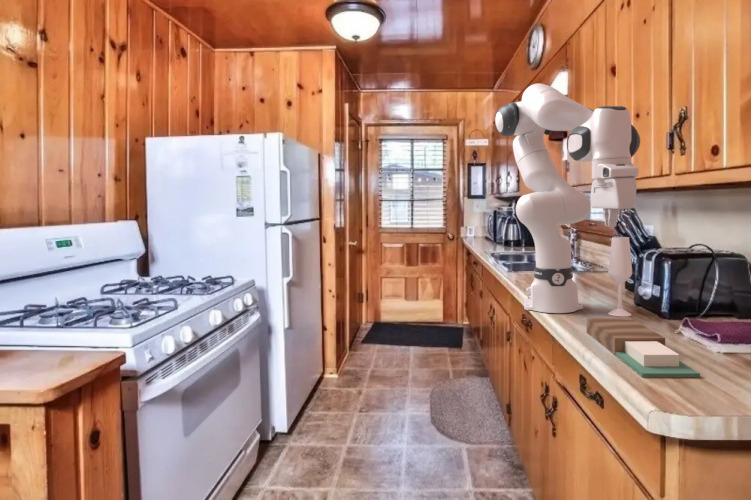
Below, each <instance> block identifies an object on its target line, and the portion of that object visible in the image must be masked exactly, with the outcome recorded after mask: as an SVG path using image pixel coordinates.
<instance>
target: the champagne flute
mask: <svg viewBox="0 0 751 500" xmlns="http://www.w3.org/2000/svg"><path fill="white" fill-rule="evenodd" d="M631 253H632V252H631V245H630V237H629V236H628V237H627V236H613V237H611V242H610V251H609V259H608V261H609V262H608V271H607V274H608V276H609V277H610V279H612V280H613V281H614V282H615V283H616V284H617V307H616V308H615V309H612V310H611V311H609V312H607V314H608V315H610V316H614V317H630V316H632V313H631V312H629V311H627V310H625V309H624V308H623V284H624V283H625V282H626V281H628V280H629V279H630V278H631V277H632V275H633V267H632V265H633V264H632V255H631Z"/></svg>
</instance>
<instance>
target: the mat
mask: <svg viewBox="0 0 751 500" xmlns="http://www.w3.org/2000/svg"><path fill="white" fill-rule="evenodd" d="M615 356H616V357H617V359H619V360H620V359H621V360H620V361H622V362H623V363H624V362H625V363H626V364H627V366H628V367H629V368H630V367H631V368H632V370H633V371H634V372H635V371H636V372H637V373H636V372H635V373H636V374H637V375H639V376H640V377H641V378H701V373H700V372H699V371H697V370H695V369H694V368H693V367H691V366H689V365H688V364H686V363H684V362H683V361H681V360H679V366H643V365H641V364H640V363H639V362H637V361H636V360H635V359H633V358H632V357H631V356H629V355H628V354H627V353H625V352H616V355H615ZM625 363H624V364H625ZM626 364H625V365H626ZM631 368H630V369H631Z"/></svg>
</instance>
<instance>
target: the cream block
mask: <svg viewBox="0 0 751 500" xmlns="http://www.w3.org/2000/svg"><path fill="white" fill-rule="evenodd" d="M625 353H627V354H628V355H629V356H631V357H632V358H633V359H635V360H636V361H637V362H639V363H640V364H641V365H643V366H679V361H680V354H679V353H677V352H676V351H674V350H673V349H671V348H669V347H667V346H666V345H665V346H664V345H662V344H661V343H659V342H657V341H625Z"/></svg>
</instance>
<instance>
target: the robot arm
mask: <svg viewBox="0 0 751 500" xmlns="http://www.w3.org/2000/svg"><path fill="white" fill-rule="evenodd" d="M494 117H495V122H494V123H495V127H496V131H497V132H498V133H499V134H500V135H501V136H503V137H513V136H515V137H514V139H513V141H512V151H513V157H514V160H515V164H516V166H517V168H518V171H519V174H520V177H521V179H522V181H523V184H524V185H525V186H526V188H528V189H529V190H530V191H533V192H531V193H530V192H529V193H527V194H524V195H521V196H520V197H519V198H518V200H517V203H516V206H515V214H516V217H517V219H518V220H519V222H520V223H521V224H523V225H524V226H525V227H526V228H527V230H528V231H529V232H530V234H531V236H532V239H533V243H534V252H535V266H534V270H533V273H534V274H533V277H534V279H533V280H532V283H531V284H530V286H528V287H526V288H525V295H528V296H527V297H526V298H524V301H523V302H524V303H523V304H524V305H523V309H524V310H527V311H534V312H540V313H549V314H568V313H573V312H576V311H580V310H584V306H583V304H580V303H579V291H578V284H577V282H576V281H574V280H573V278H574V268H573V266H572V244H571V242H570V241H569V239H567V238H565V237H564V236H562V235H561V233H560V230H559V226H558V225H573V224H576V223H579V222H583V221H584V220H586V219H587V218H588V216H589V215H590V212H591V208H592V209H602V215H603V218H604V226H605V227H608V228H616V227H617V226H618V225H617V220H618V218H619V214H620V210H630V209H634V207H635V205H636V200H637V199H636V198H637V179H636V177H638V176H639V167H638V166H636V165H634V164H633V162H632V158H633V157H634V156H635V155H636V153H637V152H638V150H639V148H640V145H641V136H640V133H639V132H638V130H637V129H636V127H635V126H634V125H632V121H631V115H630V112H629V109H628V108H627V107H626V106H621V105H620V106H619V105H615V106H614V105H613V106H611V105H610V106H609V105H607V106H605V105H604V106H603V105H602V106H597V107H596V108H595V109H591V108H589V107H588V106H585V105H583V104H582V103H579V102H577V101H576V100H574V99H572V98H570V97H568V96H566V95H565V94H564V93H562V92H560V91H559V90H558V89H557V88H556V89H555V88H554V87H553V86H550V85H547V84H544V83H538V82H537V83H534V84H531V85H529V86H528V87H527V88H526V89H525V90H524V91H523V93H522V96H521V100H520V101H515V102H513V101H512V102H510V103H506V104H504V105H502V106H500V107H499V108H498V110H497V111H496V113H495V116H494ZM553 131H554V132H570V133H569V134H568V136H567V138H566V149H567V153H568V155H569V156H570V158H571V159H573V160H574V161H577V162H582V163H583V162H585V163H586V162H591V179H592V180H593V181H592V182H591V187H590V199H589V196H587V194H585V193H583V192H581V191H579V190H577V189H576V188H574V187H573V186H572V185H570V183H568V181H566V180H565V178H564V177H563V176H562V175H561V173H560V172H559V170H558V169H557V167H556V165H555V163H554V161H553V159H552V156H551V155H550V152H549V150H548V148H547V146H546V143H545V142H544V135H546V136H548V135H551V134H552V133H553Z"/></svg>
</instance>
